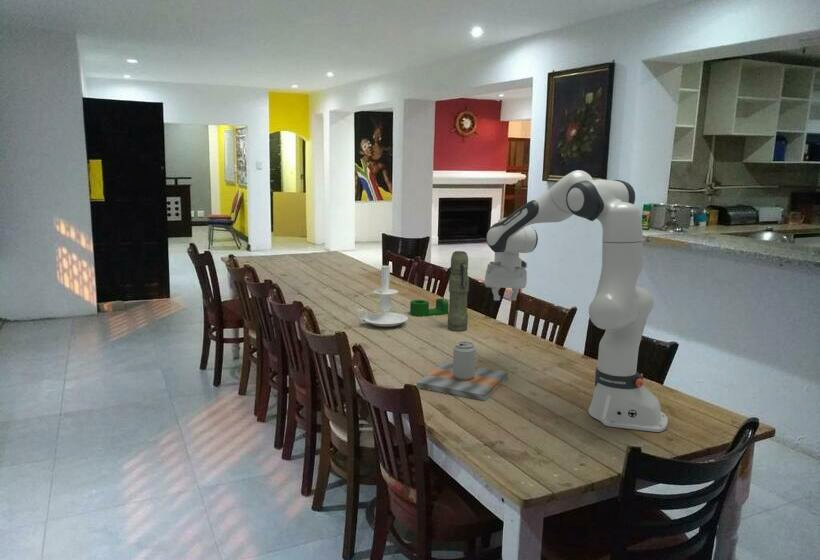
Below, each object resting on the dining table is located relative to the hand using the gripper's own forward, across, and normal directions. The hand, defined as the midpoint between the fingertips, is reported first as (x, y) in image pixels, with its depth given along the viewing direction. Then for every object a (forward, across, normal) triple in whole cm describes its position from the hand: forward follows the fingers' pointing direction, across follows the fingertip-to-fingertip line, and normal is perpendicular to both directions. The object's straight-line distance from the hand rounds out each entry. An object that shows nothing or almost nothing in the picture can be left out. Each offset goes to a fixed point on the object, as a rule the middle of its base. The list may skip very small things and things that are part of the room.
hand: (505, 300), depth 225 cm
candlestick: (+15, +5, +74) cm, 76 cm away
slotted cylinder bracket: (+11, +36, +76) cm, 84 cm away
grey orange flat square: (+28, -20, +1) cm, 35 cm away
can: (+26, -20, 0) cm, 33 cm away
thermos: (+15, +27, +48) cm, 57 cm away
